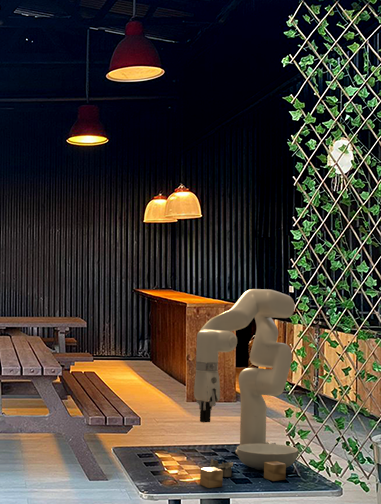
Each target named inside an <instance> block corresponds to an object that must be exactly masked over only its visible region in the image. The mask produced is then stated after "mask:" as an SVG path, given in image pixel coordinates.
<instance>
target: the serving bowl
mask: <svg viewBox="0 0 381 504" xmlns="http://www.w3.org/2000/svg"><path fill="white" fill-rule="evenodd" d="M236 450H237V454H238V455H237V454H236V455H237V457H238V459H239V460H240V462H241V463H242V464H243V465H245V466H247V467H249V468H251V469H254V470H257V471H262V472H264V462H272V461H278V462H281V463H285V464H286V469H287V468H289V467H291V466H292V465H293V464H294V463H295V462H296V460H297V458H298V455H299V449H298V448H297V447H294V446H290V445H286V444H278V443H276V444H244V445H240V444H239V445H238V446H236Z"/></svg>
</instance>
